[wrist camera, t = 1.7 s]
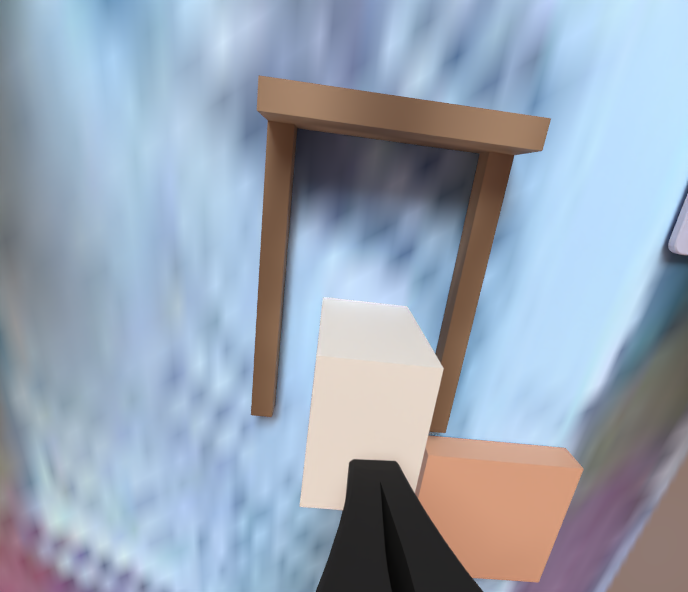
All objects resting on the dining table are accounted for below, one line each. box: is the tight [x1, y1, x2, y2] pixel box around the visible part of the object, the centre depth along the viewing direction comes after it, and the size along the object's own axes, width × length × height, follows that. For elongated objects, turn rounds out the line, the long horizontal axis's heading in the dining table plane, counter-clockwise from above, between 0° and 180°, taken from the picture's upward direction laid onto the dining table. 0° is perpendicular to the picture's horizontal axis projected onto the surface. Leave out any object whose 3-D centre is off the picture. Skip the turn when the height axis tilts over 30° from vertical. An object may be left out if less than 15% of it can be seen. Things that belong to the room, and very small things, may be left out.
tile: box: [415, 436, 583, 582], centre depth 20 cm, size 8×8×2 cm
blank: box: [300, 297, 444, 510], centre depth 15 cm, size 4×6×6 cm, turn 173°
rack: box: [251, 76, 551, 433], centre depth 15 cm, size 10×14×3 cm
